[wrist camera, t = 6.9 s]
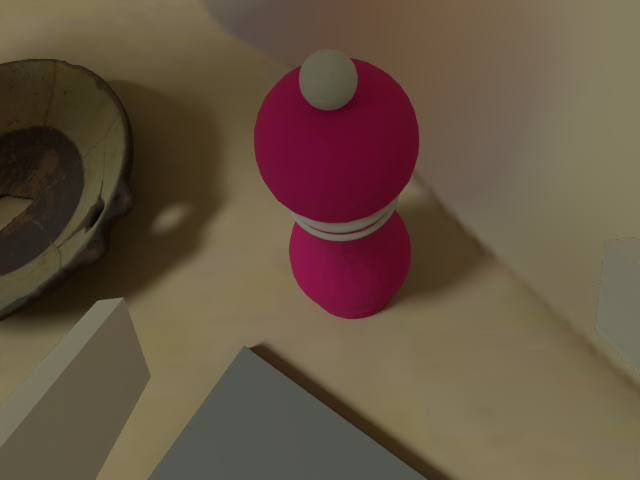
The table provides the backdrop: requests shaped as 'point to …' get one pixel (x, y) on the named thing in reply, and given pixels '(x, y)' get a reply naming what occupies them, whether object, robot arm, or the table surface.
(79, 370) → the robot arm
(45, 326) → the table surface
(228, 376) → the charcoal notebook
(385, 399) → the table surface
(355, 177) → the pepper mill
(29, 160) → the ancient handled dish
